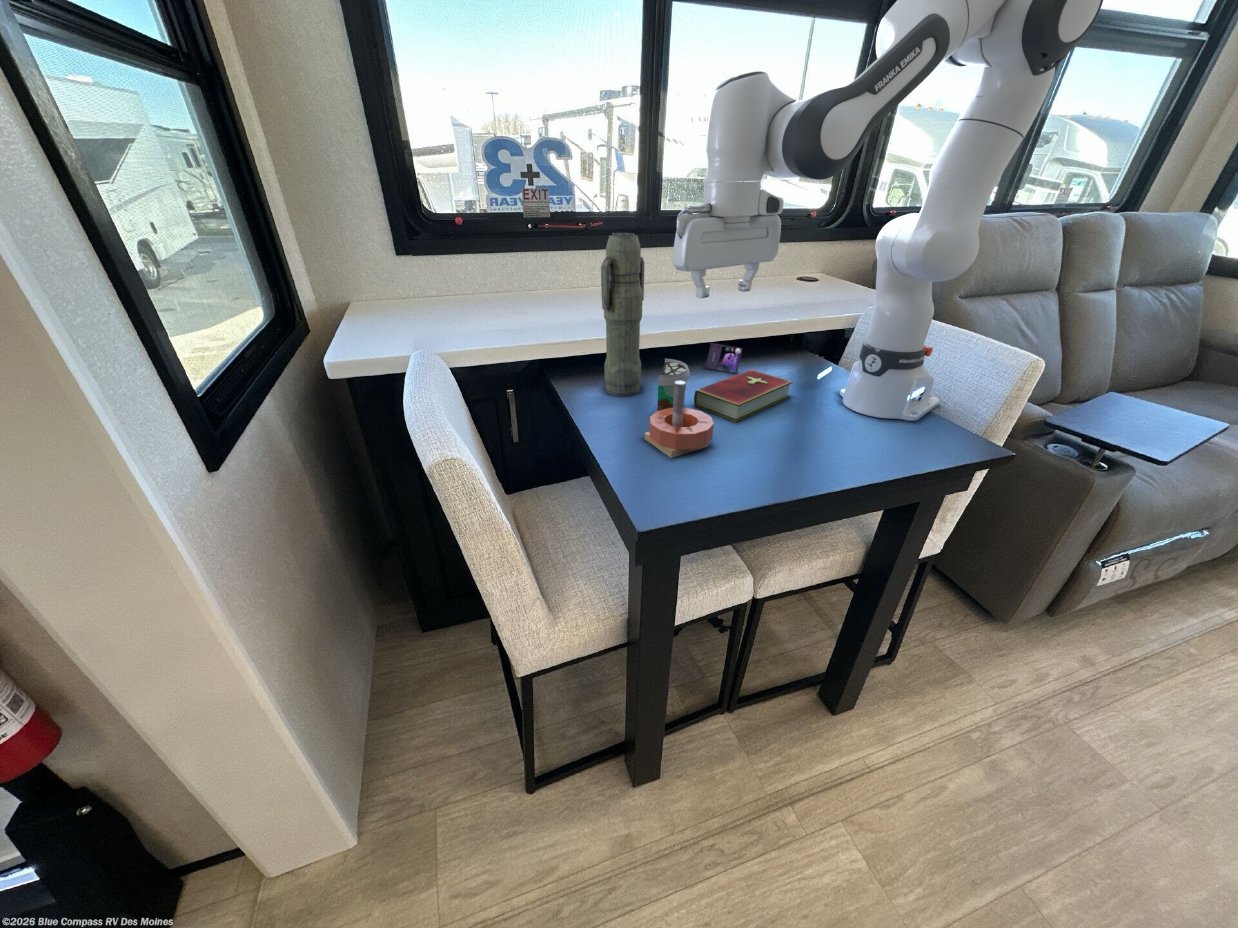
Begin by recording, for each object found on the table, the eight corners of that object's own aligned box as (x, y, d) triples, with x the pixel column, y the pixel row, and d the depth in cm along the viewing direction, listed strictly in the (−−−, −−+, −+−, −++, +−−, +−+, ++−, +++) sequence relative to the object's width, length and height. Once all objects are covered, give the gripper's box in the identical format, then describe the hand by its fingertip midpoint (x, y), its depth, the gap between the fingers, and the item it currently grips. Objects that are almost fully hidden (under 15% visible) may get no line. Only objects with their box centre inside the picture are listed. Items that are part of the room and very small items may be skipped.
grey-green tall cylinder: (651, 386, 122) (656, 233, 104) (622, 400, 114) (622, 237, 96) (623, 378, 127) (624, 230, 109) (593, 392, 119) (589, 234, 101)
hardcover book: (693, 405, 111) (694, 388, 109) (747, 383, 123) (749, 367, 121) (736, 422, 104) (738, 403, 101) (789, 397, 116) (792, 380, 114)
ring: (686, 417, 102) (687, 403, 100) (724, 439, 93) (726, 424, 91) (637, 430, 97) (638, 415, 95) (673, 455, 88) (674, 439, 86)
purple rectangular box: (709, 342, 132) (741, 348, 128) (716, 344, 136) (747, 349, 132) (704, 367, 133) (735, 373, 129) (711, 368, 138) (741, 374, 134)
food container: (685, 423, 103) (688, 378, 98) (656, 420, 104) (658, 376, 99) (689, 401, 114) (692, 359, 109) (663, 399, 115) (665, 357, 110)
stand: (680, 429, 101) (684, 371, 94) (708, 446, 94) (715, 385, 88) (644, 439, 97) (646, 379, 90) (671, 458, 90) (674, 395, 84)
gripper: (691, 206, 70) (686, 305, 77) (791, 201, 79) (779, 290, 86) (665, 205, 75) (663, 298, 81) (763, 200, 83) (753, 285, 90)
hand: (723, 294), depth 84 cm, fingers open, 8 cm apart
